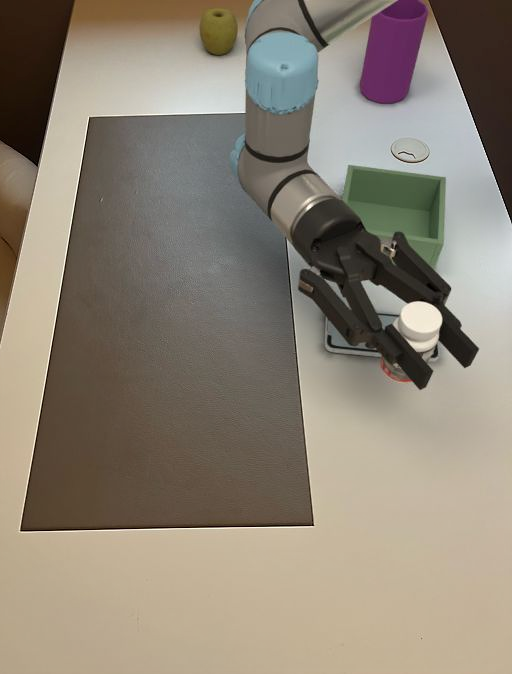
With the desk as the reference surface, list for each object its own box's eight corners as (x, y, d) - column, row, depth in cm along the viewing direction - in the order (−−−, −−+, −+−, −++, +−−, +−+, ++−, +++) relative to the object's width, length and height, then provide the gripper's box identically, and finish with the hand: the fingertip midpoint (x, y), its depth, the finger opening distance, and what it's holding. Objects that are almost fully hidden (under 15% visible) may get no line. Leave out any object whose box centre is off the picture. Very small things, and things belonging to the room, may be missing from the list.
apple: (239, 41, 129) (240, 4, 123) (234, 62, 124) (234, 24, 118) (203, 39, 129) (202, 2, 124) (197, 59, 125) (195, 22, 119)
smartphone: (440, 360, 81) (325, 348, 82) (438, 364, 82) (324, 353, 83) (436, 317, 86) (326, 306, 86) (434, 321, 86) (325, 311, 87)
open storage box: (434, 211, 99) (446, 177, 93) (430, 277, 91) (443, 243, 85) (342, 199, 101) (348, 164, 95) (330, 262, 93) (337, 228, 87)
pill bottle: (370, 366, 67) (386, 316, 60) (396, 342, 69) (414, 290, 62) (406, 392, 65) (427, 343, 59) (432, 366, 67) (455, 316, 60)
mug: (355, 101, 116) (370, 16, 104) (367, 58, 125) (383, -25, 112) (404, 108, 115) (426, 23, 102) (414, 65, 123) (434, -19, 111)
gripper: (375, 224, 77) (506, 357, 65) (248, 274, 72) (365, 427, 61) (387, 172, 71) (535, 310, 59) (250, 223, 66) (381, 383, 54)
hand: (449, 369), depth 60 cm, fingers closed on pill bottle, 5 cm apart
